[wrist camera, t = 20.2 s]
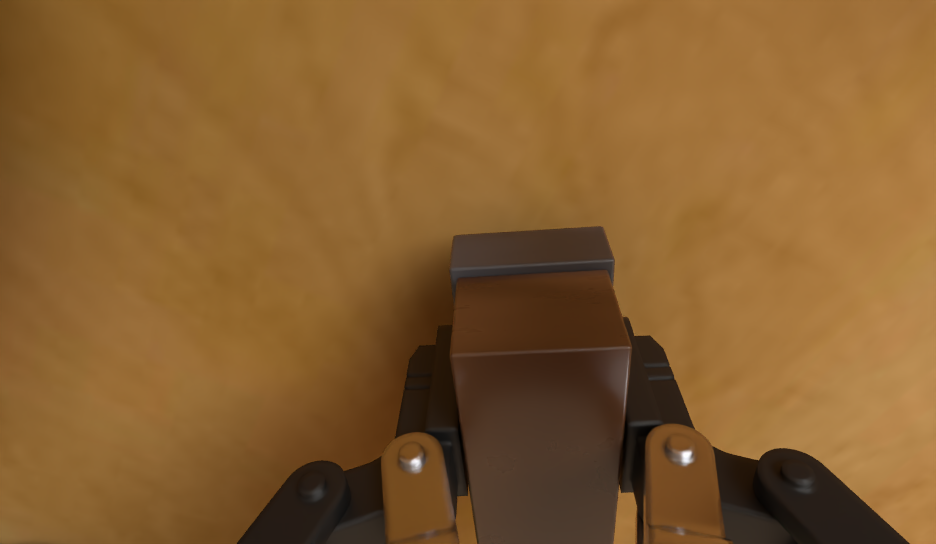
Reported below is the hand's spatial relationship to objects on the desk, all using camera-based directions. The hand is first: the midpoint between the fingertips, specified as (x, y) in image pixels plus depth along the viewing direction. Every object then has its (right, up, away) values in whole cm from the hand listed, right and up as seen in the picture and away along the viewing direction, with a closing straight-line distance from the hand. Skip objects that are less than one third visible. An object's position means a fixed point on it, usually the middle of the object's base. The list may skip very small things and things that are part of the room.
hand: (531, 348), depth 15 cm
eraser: (0, 0, 0) cm, 0 cm away
